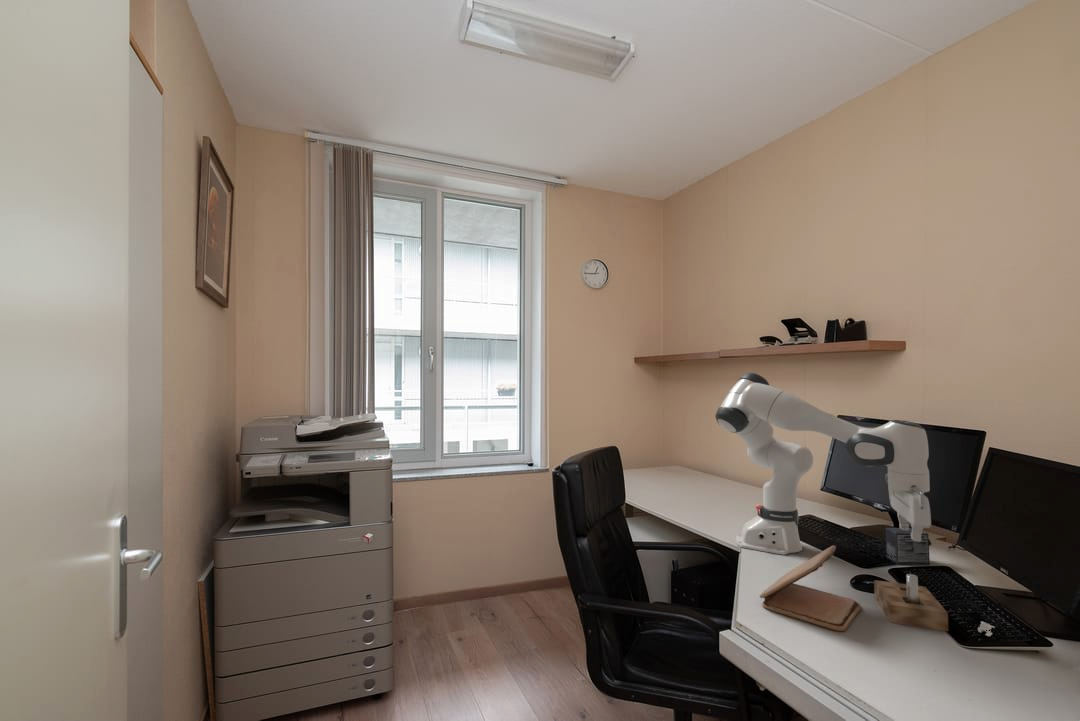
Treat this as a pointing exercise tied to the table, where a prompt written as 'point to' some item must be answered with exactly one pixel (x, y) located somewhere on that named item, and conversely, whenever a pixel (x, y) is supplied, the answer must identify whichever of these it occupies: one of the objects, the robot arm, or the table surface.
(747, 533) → the robot arm
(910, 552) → the small box
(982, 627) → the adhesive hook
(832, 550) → the case
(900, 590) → the wooden flat block
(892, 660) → the table surface
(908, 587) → the gauge pin
